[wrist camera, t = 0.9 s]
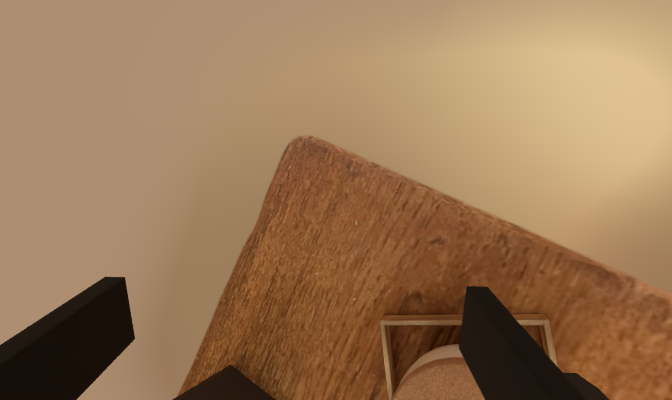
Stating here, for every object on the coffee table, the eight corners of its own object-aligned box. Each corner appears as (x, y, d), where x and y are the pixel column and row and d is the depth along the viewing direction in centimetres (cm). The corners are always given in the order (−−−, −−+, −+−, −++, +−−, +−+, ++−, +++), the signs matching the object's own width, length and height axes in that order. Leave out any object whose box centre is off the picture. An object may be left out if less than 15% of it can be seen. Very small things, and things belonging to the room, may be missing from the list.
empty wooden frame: (383, 315, 28) (379, 320, 27) (542, 313, 24) (549, 319, 22) (401, 465, 27) (397, 481, 25) (575, 493, 22) (585, 514, 21)
